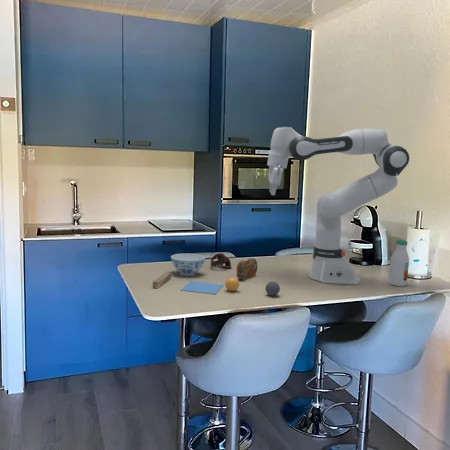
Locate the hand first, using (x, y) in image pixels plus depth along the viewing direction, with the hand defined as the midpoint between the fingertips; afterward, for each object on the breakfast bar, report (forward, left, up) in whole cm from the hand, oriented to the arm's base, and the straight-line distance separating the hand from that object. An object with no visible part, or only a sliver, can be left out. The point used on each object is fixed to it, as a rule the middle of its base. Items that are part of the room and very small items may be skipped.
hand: (271, 193), depth 204 cm
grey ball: (-6, +33, -35) cm, 48 cm away
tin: (+8, +10, -38) cm, 40 cm away
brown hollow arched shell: (+22, -4, -38) cm, 44 cm away
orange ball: (+10, +33, -35) cm, 48 cm away
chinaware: (+34, +14, -38) cm, 52 cm away
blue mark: (+22, +33, -37) cm, 54 cm away
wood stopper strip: (+39, +33, -37) cm, 63 cm away
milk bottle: (-58, -6, -38) cm, 70 cm away
